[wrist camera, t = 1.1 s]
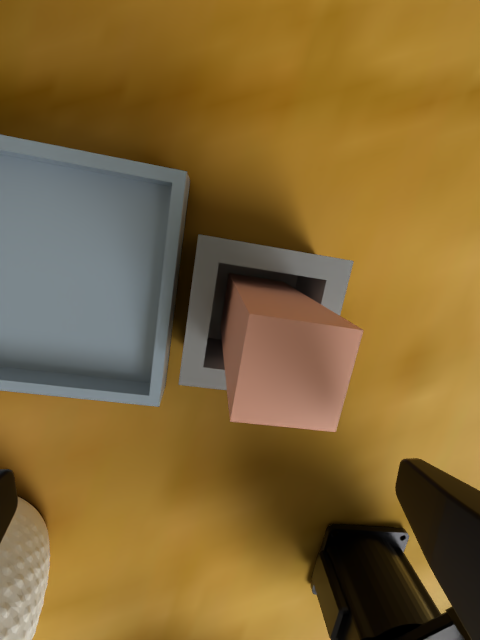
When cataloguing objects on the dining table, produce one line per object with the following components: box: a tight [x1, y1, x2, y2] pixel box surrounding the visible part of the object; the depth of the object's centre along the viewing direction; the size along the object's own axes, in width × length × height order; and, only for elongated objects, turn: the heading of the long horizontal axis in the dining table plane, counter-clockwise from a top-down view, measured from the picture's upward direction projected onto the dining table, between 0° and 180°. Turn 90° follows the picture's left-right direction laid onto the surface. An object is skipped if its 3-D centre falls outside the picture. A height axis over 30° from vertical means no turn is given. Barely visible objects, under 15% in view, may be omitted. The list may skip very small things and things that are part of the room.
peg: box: [220, 273, 363, 432], centre depth 14 cm, size 3×3×10 cm
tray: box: [0, 135, 190, 407], centre depth 16 cm, size 12×12×2 cm
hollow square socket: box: [179, 234, 353, 390], centre depth 16 cm, size 7×7×5 cm
